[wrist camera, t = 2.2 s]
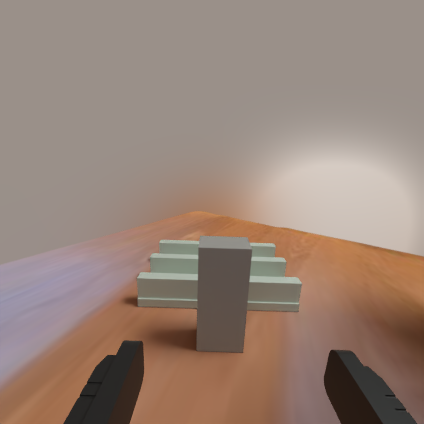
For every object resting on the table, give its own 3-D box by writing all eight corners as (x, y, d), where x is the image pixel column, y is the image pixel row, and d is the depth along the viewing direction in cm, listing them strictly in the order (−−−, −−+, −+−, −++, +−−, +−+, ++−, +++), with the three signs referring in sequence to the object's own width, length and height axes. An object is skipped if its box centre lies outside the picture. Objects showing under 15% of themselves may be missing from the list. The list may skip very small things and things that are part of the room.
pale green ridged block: (270, 262, 42) (273, 243, 41) (298, 311, 29) (302, 284, 28) (162, 258, 42) (161, 239, 41) (137, 306, 29) (136, 279, 28)
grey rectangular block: (239, 330, 25) (247, 237, 22) (243, 352, 22) (252, 249, 19) (198, 328, 25) (200, 235, 22) (196, 351, 22) (198, 247, 19)
